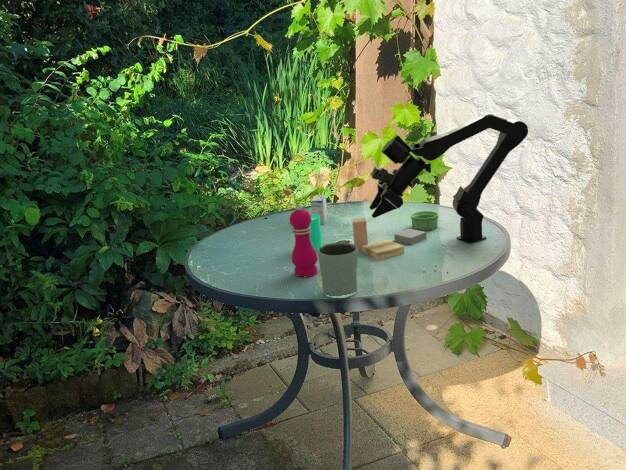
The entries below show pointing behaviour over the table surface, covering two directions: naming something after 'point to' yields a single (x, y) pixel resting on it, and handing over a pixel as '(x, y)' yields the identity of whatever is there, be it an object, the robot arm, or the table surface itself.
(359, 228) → the terracotta block
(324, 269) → the plant pot
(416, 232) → the slate block
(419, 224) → the ramekin
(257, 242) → the table surface
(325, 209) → the medicine box
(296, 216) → the pepper mill
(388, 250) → the oak block
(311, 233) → the candle
